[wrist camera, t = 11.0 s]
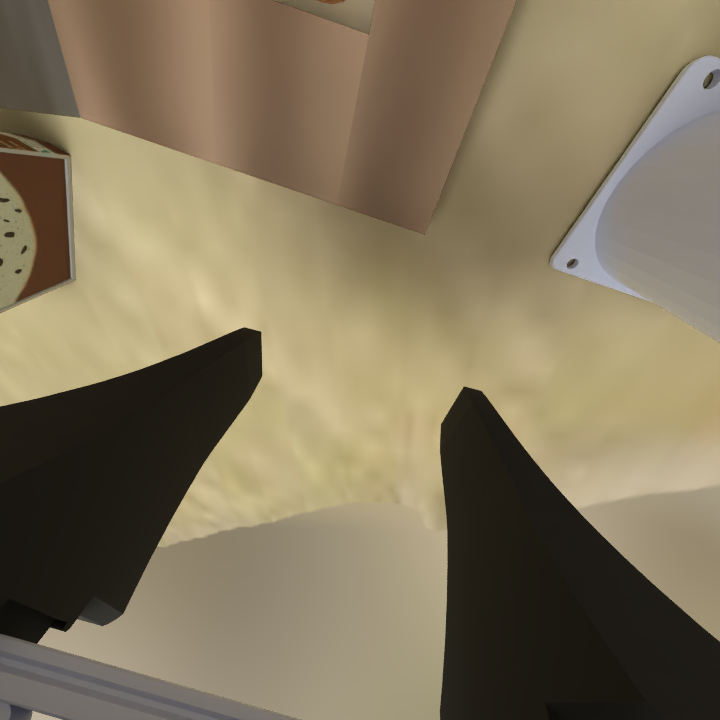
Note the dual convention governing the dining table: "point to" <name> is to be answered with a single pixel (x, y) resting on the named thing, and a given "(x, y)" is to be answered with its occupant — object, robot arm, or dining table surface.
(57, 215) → the food container
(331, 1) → the peg
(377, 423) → the dining table surface
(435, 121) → the socket block
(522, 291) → the dining table surface
